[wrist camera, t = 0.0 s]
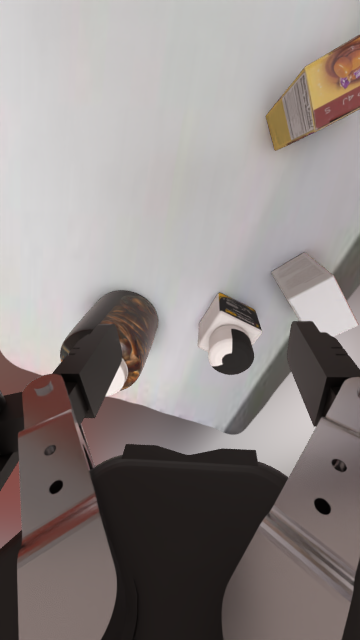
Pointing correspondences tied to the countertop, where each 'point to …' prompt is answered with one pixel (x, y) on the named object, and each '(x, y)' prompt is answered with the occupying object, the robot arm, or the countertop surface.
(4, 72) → the countertop surface
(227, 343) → the medicine bottle
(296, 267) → the small box
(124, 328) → the jar
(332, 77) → the candy box
